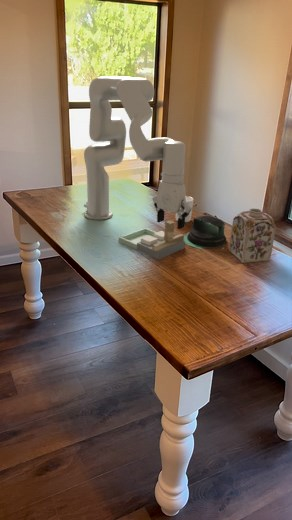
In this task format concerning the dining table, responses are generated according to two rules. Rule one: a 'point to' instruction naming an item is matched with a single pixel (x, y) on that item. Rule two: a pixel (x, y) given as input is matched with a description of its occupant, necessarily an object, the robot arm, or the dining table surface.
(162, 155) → the robot arm
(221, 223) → the dark round cap
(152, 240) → the tile
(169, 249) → the board
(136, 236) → the tray
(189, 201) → the white cup
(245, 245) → the decorative jar
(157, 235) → the tile
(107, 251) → the dining table surface
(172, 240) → the tan bar
